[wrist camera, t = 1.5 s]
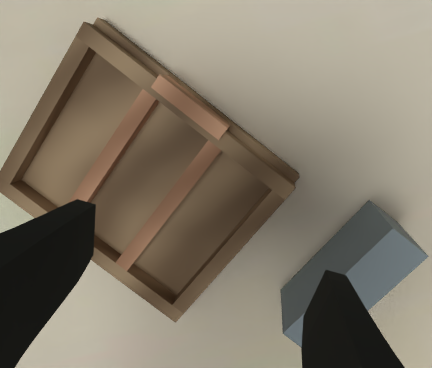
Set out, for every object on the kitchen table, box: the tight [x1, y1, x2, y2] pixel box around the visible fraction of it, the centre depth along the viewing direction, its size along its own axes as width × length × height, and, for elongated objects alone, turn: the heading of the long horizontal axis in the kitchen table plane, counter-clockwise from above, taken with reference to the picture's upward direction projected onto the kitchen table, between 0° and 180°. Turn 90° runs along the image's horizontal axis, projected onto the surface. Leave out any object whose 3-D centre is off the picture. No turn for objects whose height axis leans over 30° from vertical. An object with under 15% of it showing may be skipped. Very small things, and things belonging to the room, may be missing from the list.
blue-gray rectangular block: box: [281, 200, 429, 348], centre depth 23 cm, size 2×9×5 cm, turn 143°
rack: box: [0, 18, 299, 323], centre depth 25 cm, size 16×14×3 cm
